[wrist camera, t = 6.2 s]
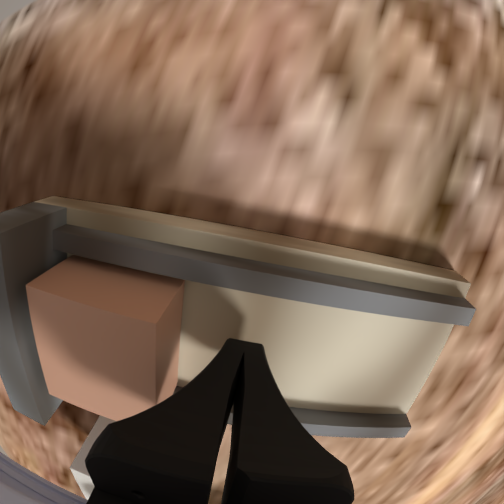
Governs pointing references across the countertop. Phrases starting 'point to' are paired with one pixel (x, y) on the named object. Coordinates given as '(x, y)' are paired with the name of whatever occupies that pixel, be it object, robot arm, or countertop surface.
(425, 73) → the countertop surface
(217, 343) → the rail bed
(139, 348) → the block
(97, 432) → the gauge cabinet
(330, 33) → the countertop surface
